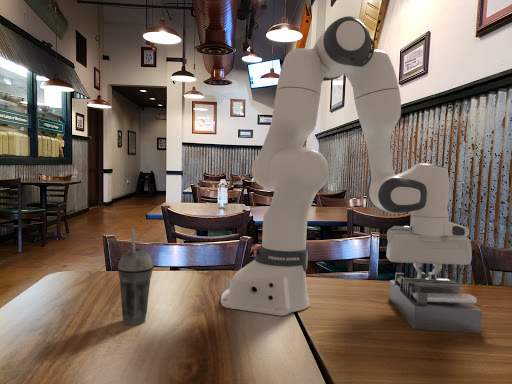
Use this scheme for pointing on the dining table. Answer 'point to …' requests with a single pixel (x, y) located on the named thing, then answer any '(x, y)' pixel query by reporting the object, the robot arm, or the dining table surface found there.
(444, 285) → the heatsink block
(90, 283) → the dining table surface
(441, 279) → the strap far
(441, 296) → the strap near
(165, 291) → the dining table surface
